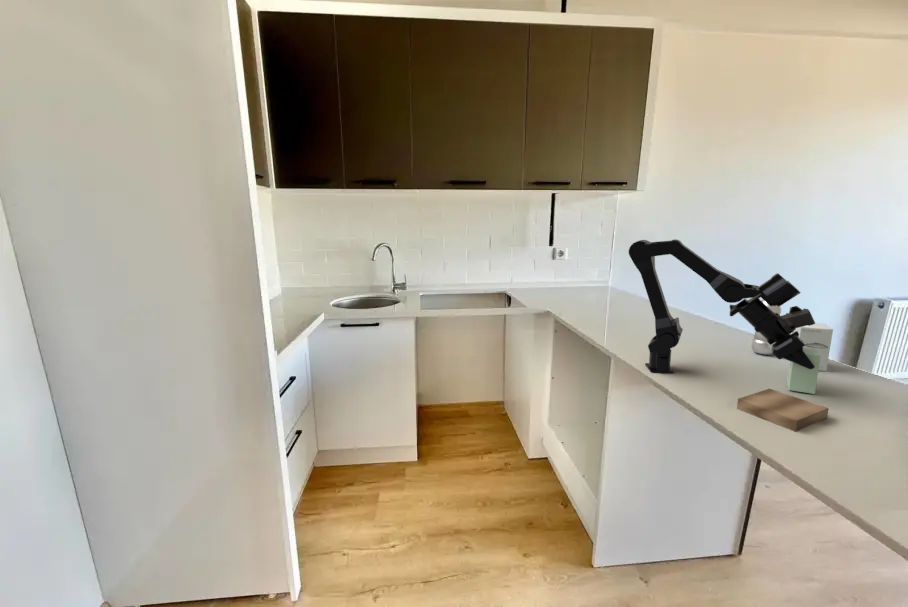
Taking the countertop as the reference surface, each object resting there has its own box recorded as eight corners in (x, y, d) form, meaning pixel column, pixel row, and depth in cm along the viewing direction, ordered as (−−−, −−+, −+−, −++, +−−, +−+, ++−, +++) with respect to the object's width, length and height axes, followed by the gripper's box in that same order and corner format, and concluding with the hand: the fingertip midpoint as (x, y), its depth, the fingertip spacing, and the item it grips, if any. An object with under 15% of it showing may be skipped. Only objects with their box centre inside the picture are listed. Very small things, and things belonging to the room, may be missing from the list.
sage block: (789, 390, 104) (794, 352, 102) (786, 383, 108) (791, 347, 106) (814, 393, 102) (820, 355, 100) (811, 386, 106) (817, 349, 104)
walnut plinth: (736, 408, 97) (737, 398, 96) (767, 398, 101) (769, 388, 101) (795, 431, 86) (796, 420, 85) (827, 418, 91) (828, 407, 90)
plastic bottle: (765, 358, 128) (773, 295, 124) (745, 351, 134) (751, 291, 130) (781, 355, 130) (789, 293, 125) (760, 349, 136) (767, 290, 132)
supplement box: (794, 368, 119) (799, 326, 116) (788, 360, 125) (793, 320, 123) (827, 372, 115) (833, 329, 113) (819, 363, 122) (825, 322, 119)
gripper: (797, 305, 95) (855, 357, 91) (788, 291, 110) (836, 336, 106) (751, 334, 101) (804, 384, 97) (748, 317, 116) (793, 360, 112)
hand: (811, 364), depth 103 cm, fingers closed on sage block, 5 cm apart
